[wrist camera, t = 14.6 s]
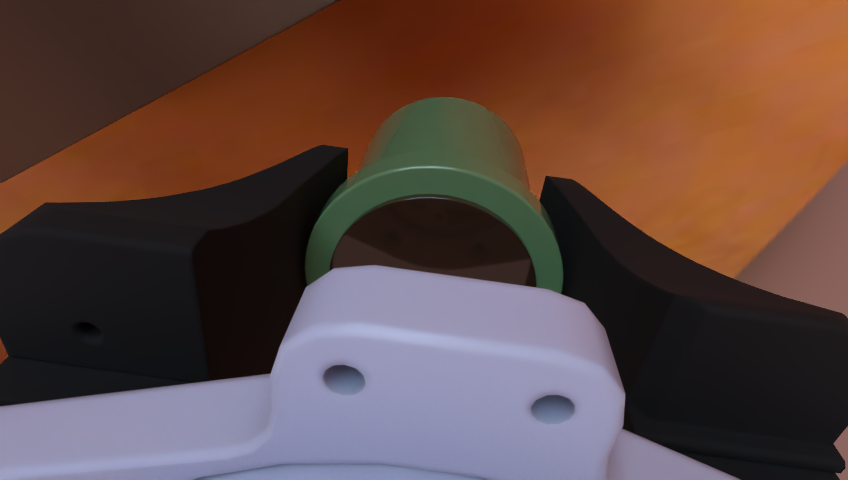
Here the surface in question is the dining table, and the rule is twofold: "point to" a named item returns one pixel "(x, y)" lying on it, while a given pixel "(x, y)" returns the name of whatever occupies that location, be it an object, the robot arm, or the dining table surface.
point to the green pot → (440, 202)
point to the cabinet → (113, 61)
